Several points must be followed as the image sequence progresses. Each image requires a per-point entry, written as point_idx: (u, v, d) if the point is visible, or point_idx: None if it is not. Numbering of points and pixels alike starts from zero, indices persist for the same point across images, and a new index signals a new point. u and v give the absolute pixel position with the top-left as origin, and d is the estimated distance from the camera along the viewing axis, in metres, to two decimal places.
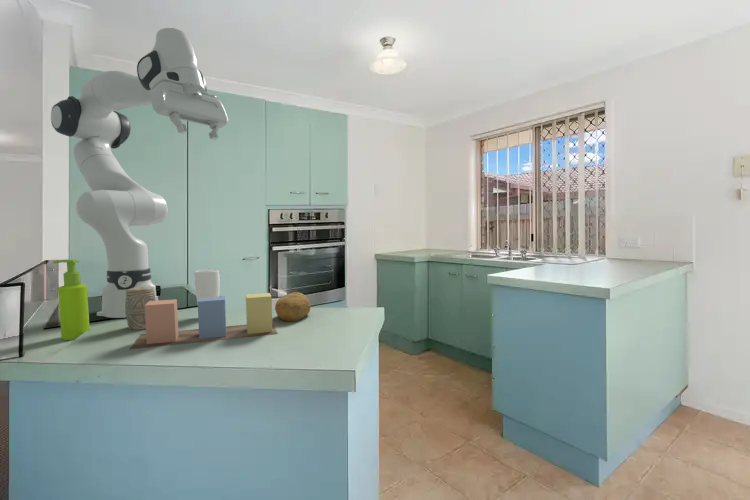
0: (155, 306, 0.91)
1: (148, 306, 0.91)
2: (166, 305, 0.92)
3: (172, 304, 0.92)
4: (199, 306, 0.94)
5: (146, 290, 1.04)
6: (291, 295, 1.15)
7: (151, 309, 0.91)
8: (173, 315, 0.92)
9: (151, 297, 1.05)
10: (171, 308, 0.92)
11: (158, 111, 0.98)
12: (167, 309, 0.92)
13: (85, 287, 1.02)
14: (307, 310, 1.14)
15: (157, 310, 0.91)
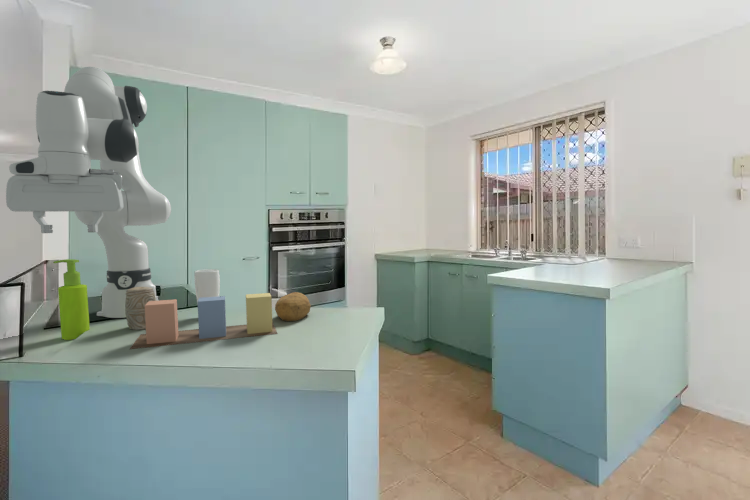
0: (155, 306, 0.91)
1: (148, 306, 0.91)
2: (166, 305, 0.92)
3: (172, 304, 0.92)
4: (199, 306, 0.94)
5: (146, 290, 1.04)
6: (291, 295, 1.15)
7: (151, 309, 0.91)
8: (173, 315, 0.92)
9: (151, 297, 1.05)
10: (171, 308, 0.92)
11: None
12: (167, 309, 0.92)
13: (85, 287, 1.02)
14: (307, 310, 1.14)
15: (157, 310, 0.91)
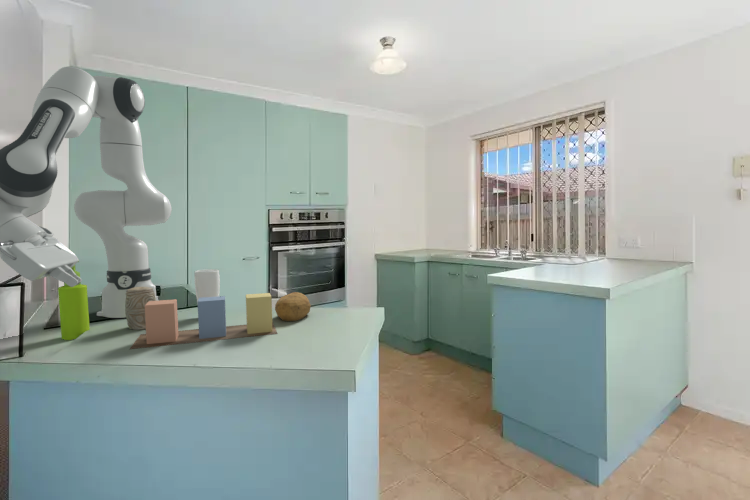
0: (155, 306, 0.91)
1: (148, 306, 0.91)
2: (166, 305, 0.92)
3: (172, 304, 0.92)
4: (199, 306, 0.94)
5: (146, 290, 1.04)
6: (291, 295, 1.15)
7: (151, 309, 0.91)
8: (173, 315, 0.92)
9: (151, 297, 1.05)
10: (171, 308, 0.92)
11: None
12: (167, 309, 0.92)
13: (85, 287, 1.02)
14: (307, 310, 1.14)
15: (157, 310, 0.91)
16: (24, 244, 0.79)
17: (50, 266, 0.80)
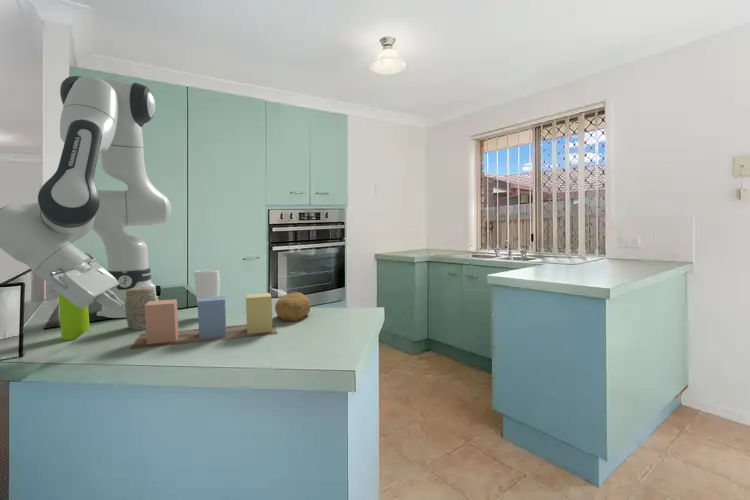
0: (155, 306, 0.91)
1: (148, 306, 0.91)
2: (166, 305, 0.92)
3: (172, 304, 0.92)
4: (199, 306, 0.94)
5: (146, 290, 1.04)
6: (291, 295, 1.15)
7: (151, 309, 0.91)
8: (173, 315, 0.92)
9: (151, 297, 1.05)
10: (171, 308, 0.92)
11: None
12: (167, 309, 0.92)
13: None
14: (307, 310, 1.14)
15: (157, 310, 0.91)
16: (73, 272, 0.82)
17: (98, 293, 0.83)
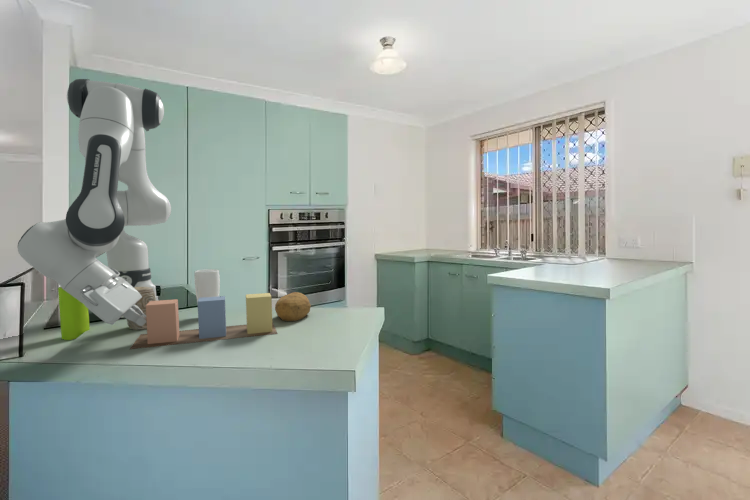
0: (156, 306, 0.91)
1: (149, 306, 0.91)
2: (167, 305, 0.92)
3: (173, 304, 0.92)
4: (199, 306, 0.94)
5: (146, 290, 1.04)
6: (291, 295, 1.15)
7: (152, 309, 0.91)
8: (174, 315, 0.93)
9: (151, 297, 1.05)
10: (172, 308, 0.92)
11: None
12: (168, 309, 0.92)
13: None
14: (307, 310, 1.14)
15: (158, 310, 0.91)
16: (102, 289, 0.85)
17: (126, 309, 0.85)
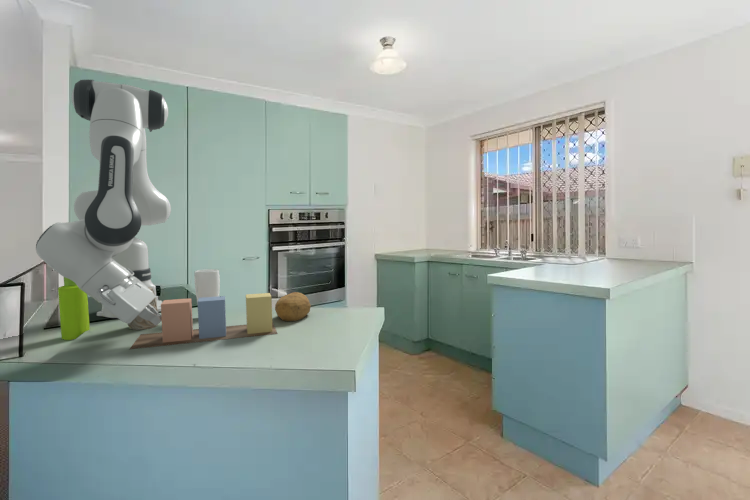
0: (171, 305, 0.92)
1: (164, 305, 0.92)
2: (182, 304, 0.93)
3: (187, 303, 0.93)
4: (199, 306, 0.94)
5: None
6: (291, 295, 1.15)
7: (167, 308, 0.92)
8: (188, 314, 0.94)
9: None
10: (186, 307, 0.93)
11: None
12: (183, 308, 0.93)
13: None
14: (307, 310, 1.14)
15: (173, 309, 0.92)
16: (119, 288, 0.86)
17: (142, 308, 0.86)
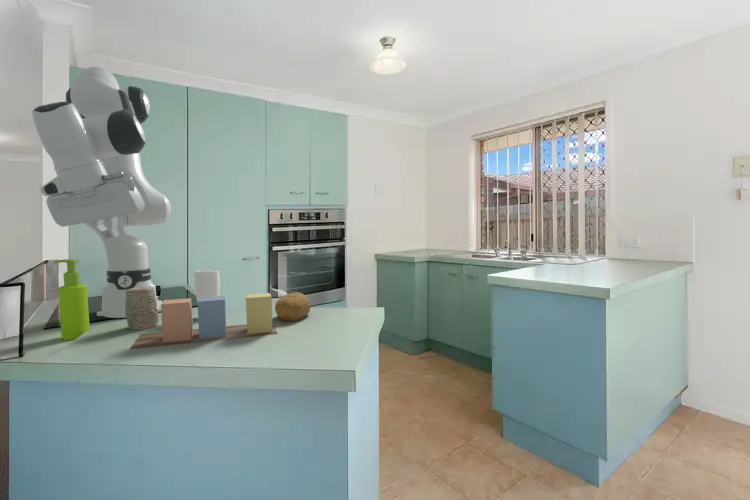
0: (171, 305, 0.92)
1: (164, 305, 0.92)
2: (182, 304, 0.93)
3: (187, 303, 0.93)
4: (199, 306, 0.94)
5: (146, 290, 1.04)
6: (291, 295, 1.15)
7: (167, 308, 0.92)
8: (188, 314, 0.94)
9: (151, 297, 1.05)
10: (186, 307, 0.93)
11: None
12: (183, 308, 0.93)
13: (85, 287, 1.02)
14: (307, 310, 1.14)
15: (173, 309, 0.92)
16: None
17: None
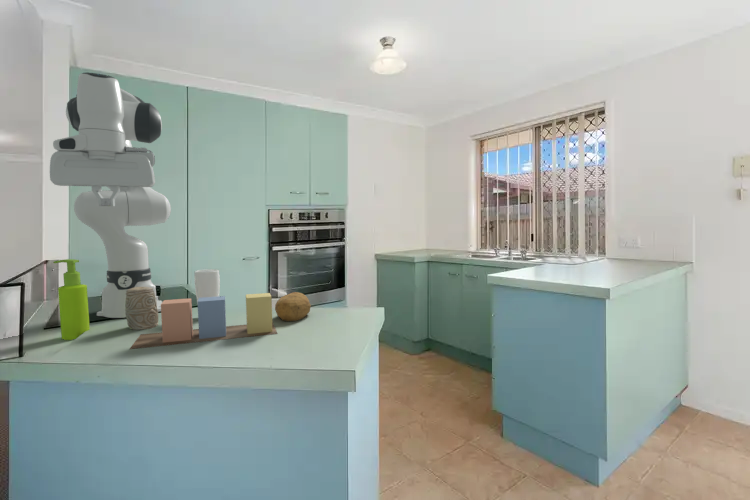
0: (171, 305, 0.92)
1: (164, 305, 0.92)
2: (182, 304, 0.93)
3: (187, 303, 0.93)
4: (199, 306, 0.94)
5: (146, 290, 1.04)
6: (291, 295, 1.15)
7: (167, 308, 0.92)
8: (188, 314, 0.94)
9: (151, 297, 1.05)
10: (186, 307, 0.93)
11: (57, 184, 0.90)
12: (183, 308, 0.93)
13: (85, 287, 1.02)
14: (307, 310, 1.14)
15: (173, 309, 0.92)
16: None
17: None
